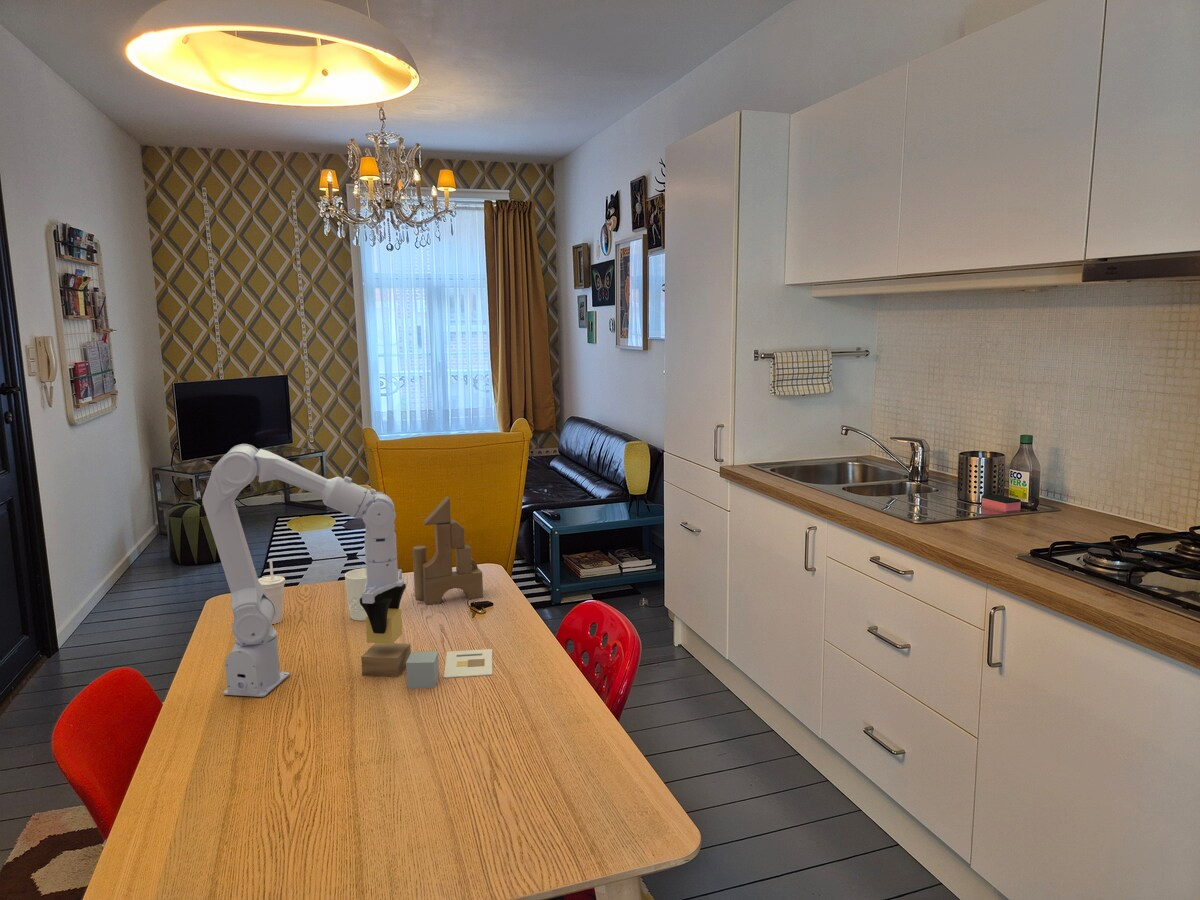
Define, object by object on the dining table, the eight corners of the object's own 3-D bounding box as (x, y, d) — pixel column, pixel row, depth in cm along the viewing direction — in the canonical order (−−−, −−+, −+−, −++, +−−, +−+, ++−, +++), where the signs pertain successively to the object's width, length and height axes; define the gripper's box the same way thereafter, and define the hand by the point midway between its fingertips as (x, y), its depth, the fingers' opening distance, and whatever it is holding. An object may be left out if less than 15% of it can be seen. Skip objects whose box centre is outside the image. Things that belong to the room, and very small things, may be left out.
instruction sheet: (492, 675, 154) (492, 673, 154) (443, 678, 153) (443, 676, 153) (492, 649, 166) (492, 648, 166) (447, 652, 165) (447, 651, 165)
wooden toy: (476, 589, 204) (473, 490, 200) (483, 597, 198) (479, 495, 194) (413, 597, 198) (409, 496, 194) (418, 606, 192) (413, 501, 188)
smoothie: (281, 627, 180) (276, 565, 178) (252, 627, 180) (247, 565, 178) (292, 616, 186) (288, 556, 184) (264, 616, 186) (260, 557, 184)
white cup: (340, 620, 184) (337, 576, 182) (360, 608, 191) (357, 566, 190) (371, 623, 181) (368, 579, 180) (389, 611, 189) (387, 569, 187)
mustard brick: (392, 643, 154) (391, 618, 153) (366, 642, 155) (365, 617, 154) (402, 633, 159) (401, 609, 158) (377, 632, 160) (376, 607, 159)
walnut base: (398, 678, 154) (397, 658, 153) (362, 676, 155) (361, 656, 154) (411, 663, 161) (410, 643, 160) (376, 661, 162) (375, 642, 161)
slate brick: (435, 688, 149) (434, 662, 149) (407, 689, 149) (406, 662, 148) (439, 676, 154) (438, 651, 154) (412, 677, 154) (411, 651, 153)
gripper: (386, 570, 147) (390, 642, 149) (415, 548, 161) (418, 614, 163) (349, 569, 148) (353, 641, 150) (380, 547, 162) (384, 613, 164)
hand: (385, 627), depth 157 cm, fingers closed on mustard brick, 5 cm apart
